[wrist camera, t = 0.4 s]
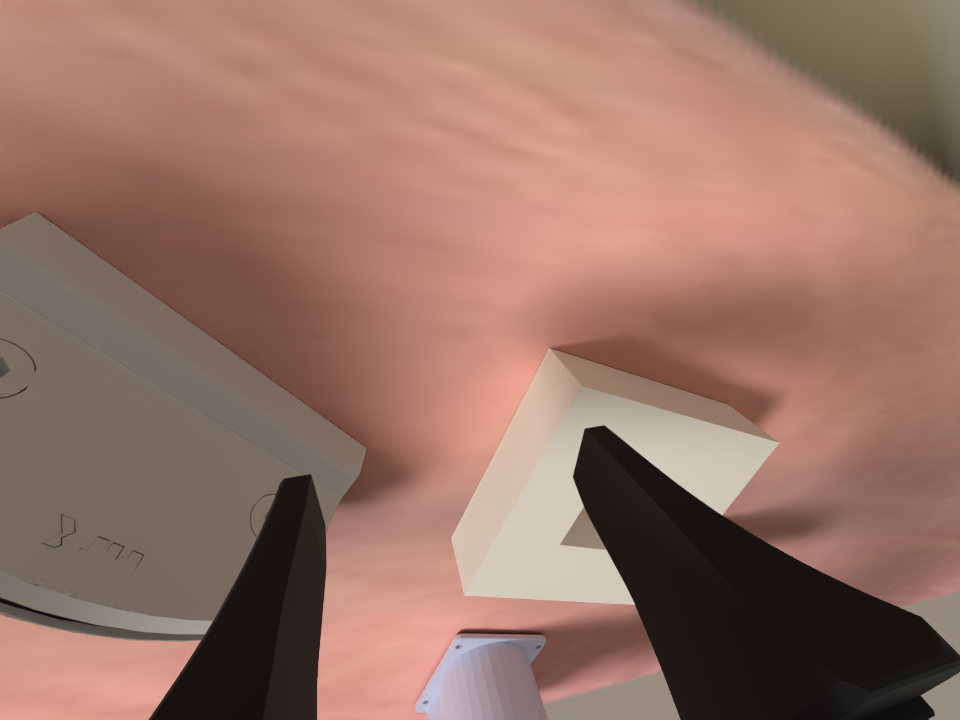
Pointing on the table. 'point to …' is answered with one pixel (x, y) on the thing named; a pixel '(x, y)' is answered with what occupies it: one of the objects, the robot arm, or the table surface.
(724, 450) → the well block
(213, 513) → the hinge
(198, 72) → the table surface
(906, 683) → the robot arm
